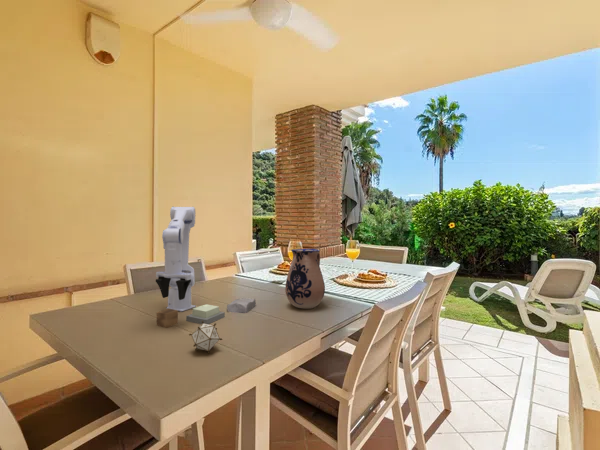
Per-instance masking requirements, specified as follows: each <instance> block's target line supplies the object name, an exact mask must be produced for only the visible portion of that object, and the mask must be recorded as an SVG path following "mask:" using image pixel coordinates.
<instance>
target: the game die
mask: <svg viewBox="0 0 600 450" xmlns="http://www.w3.org/2000/svg"><path fill="white" fill-rule="evenodd" d="M216 325H217V323H216V322H214V324H211V323H210V324H205V323H204V321H202V324H200V325H199V326H197V328H196V329H195V330H194V331H193V332H192V333H188V335H189V336H191V339H192V340H193V342H194V344H193V346H192V347H194V351H197V350H201V351H207V354H208V355H209V354H210V351H211V349H212V348H213V347H214V346H215V345H216V344H217V343H218V342H219V341H222V340H223V338H220V336H219V335H220V334H219V332H218V331H217V329H218V328H217V327H216ZM195 347H196V348H195Z"/></svg>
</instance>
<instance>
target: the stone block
mask: <svg viewBox="0 0 600 450" xmlns="http://www.w3.org/2000/svg"><path fill="white" fill-rule="evenodd" d="M256 303H257V302H256V298H250V297H240V298H236V299H235V300H233V301H231V302H230V303H229V304H227V305H226V309H227V313H228V312H229V313H240V314H242V313H243V314H244V313H248V312H249V311H251V310H252V309H253V308H254V307H255V306H256Z"/></svg>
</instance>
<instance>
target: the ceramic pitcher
mask: <svg viewBox="0 0 600 450" xmlns="http://www.w3.org/2000/svg"><path fill="white" fill-rule="evenodd" d="M320 251H321V250H320V249H318V248H294V249H291V253H292V260H291V263H290V266H289V269H288V273H287V277H286V280H285V289H284V290H285V295H286V297H287V299H288V301H289V303H290V304H291V305H292V306H294V307H295V308H297V309H298V308H299V309H301V310H302V309H303V310H305V309H307V310H308V309H314V308H316V307H317V306H318V305H319V304H321V302H322V300H323V298H324V297H325V293H326V286H325V281H324V280H325V279H324V276H323V274H322V270H321V267H320V265H321V254H320Z"/></svg>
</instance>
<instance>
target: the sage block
mask: <svg viewBox="0 0 600 450" xmlns="http://www.w3.org/2000/svg"><path fill="white" fill-rule="evenodd" d="M191 309H192V311H191V314H192V315H193V316H198V317H202V318H208V317H211V316H213V315H216V314H218V313H219V311H220V306H218V305H212V304H207V303H206V304H203V305H200V306H196V307H193V308H191Z"/></svg>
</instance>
